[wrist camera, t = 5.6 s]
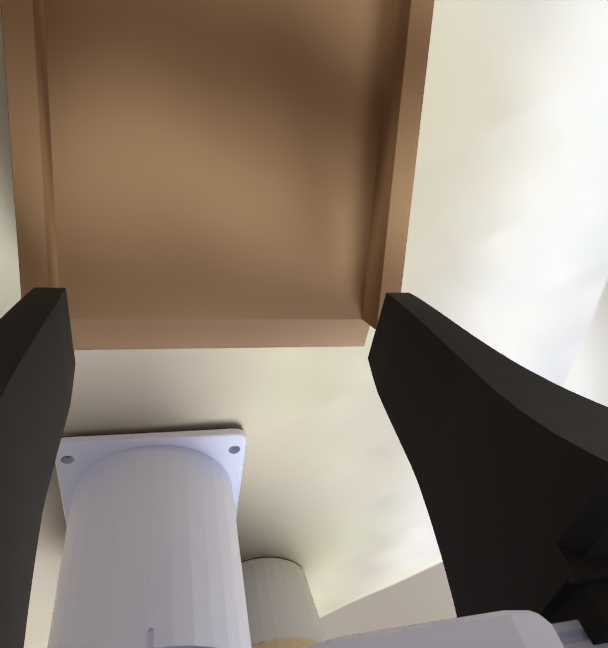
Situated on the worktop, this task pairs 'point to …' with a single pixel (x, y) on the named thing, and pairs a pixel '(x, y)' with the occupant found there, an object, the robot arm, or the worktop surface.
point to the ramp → (215, 164)
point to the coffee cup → (279, 605)
